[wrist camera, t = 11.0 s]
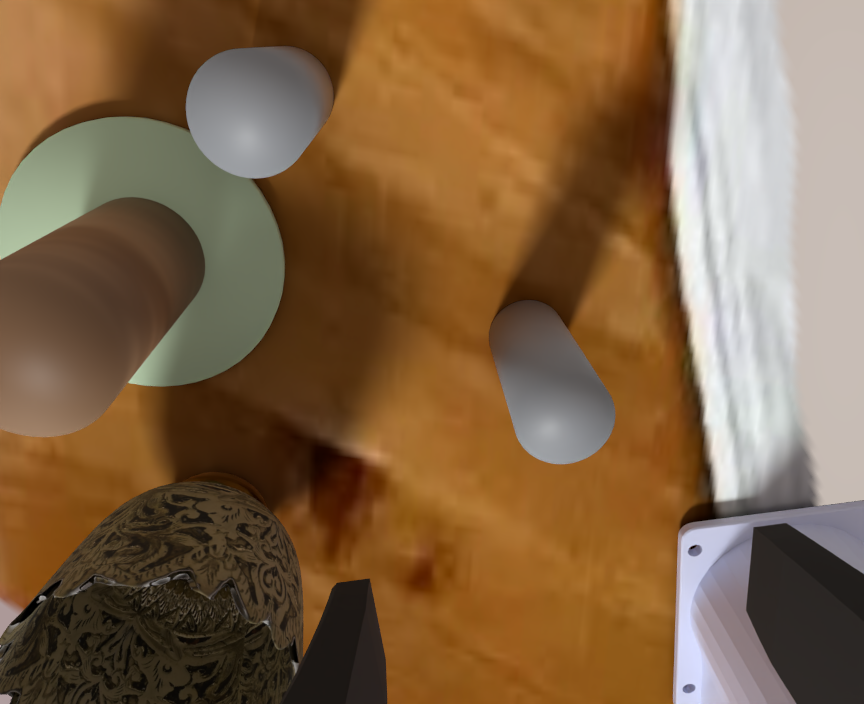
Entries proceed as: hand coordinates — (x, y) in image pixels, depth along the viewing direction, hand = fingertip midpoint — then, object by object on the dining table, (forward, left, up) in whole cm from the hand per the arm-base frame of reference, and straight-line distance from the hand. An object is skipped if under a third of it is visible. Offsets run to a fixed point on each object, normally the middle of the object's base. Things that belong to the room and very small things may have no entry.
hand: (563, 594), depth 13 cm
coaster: (+5, +10, -10) cm, 15 cm away
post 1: (+9, +5, -10) cm, 14 cm away
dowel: (+5, +10, -10) cm, 15 cm away
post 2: (+1, -1, -10) cm, 11 cm away
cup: (-4, +10, -11) cm, 15 cm away
